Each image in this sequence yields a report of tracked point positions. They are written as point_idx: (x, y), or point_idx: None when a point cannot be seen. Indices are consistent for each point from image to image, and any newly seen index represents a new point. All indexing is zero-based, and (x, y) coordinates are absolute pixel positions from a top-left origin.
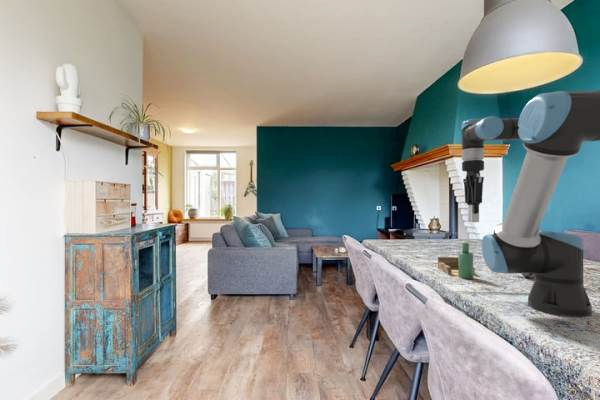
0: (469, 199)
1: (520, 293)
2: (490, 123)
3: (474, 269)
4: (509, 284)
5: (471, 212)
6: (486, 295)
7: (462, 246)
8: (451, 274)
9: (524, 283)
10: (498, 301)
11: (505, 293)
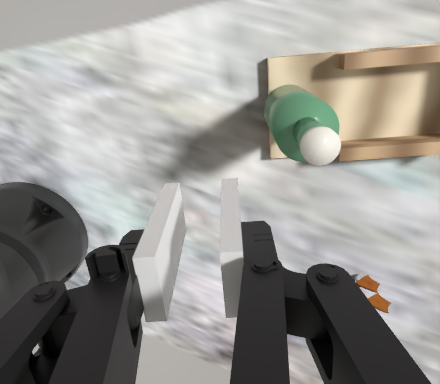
0: (238, 312)
1: (147, 209)
2: None
3: (337, 159)
4: (247, 221)
5: (151, 217)
6: (100, 112)
7: (314, 124)
8: (339, 69)
9: None
10: (45, 124)
11: (138, 172)
